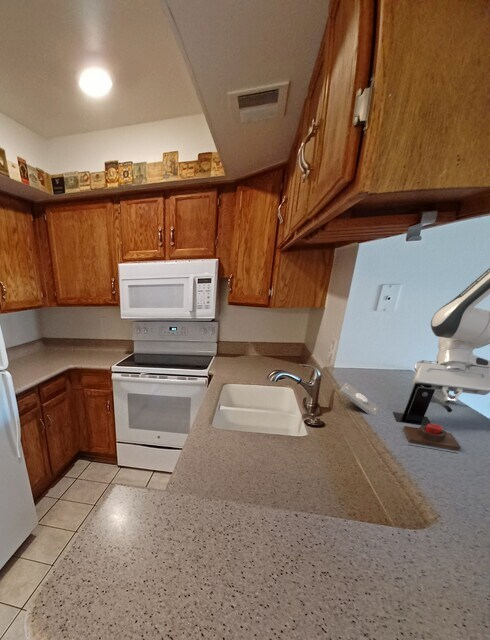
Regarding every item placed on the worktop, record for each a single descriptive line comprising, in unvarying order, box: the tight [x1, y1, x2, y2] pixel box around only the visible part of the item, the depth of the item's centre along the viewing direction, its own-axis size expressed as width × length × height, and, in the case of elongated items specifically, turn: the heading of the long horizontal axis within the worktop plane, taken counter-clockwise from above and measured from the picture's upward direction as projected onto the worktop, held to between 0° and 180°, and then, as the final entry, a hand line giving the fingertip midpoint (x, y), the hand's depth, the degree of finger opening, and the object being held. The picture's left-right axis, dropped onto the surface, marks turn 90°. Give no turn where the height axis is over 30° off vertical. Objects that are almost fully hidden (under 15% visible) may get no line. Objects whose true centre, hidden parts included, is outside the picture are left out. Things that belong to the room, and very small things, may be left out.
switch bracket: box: [392, 383, 435, 426], centre depth 107 cm, size 10×8×13 cm
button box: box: [402, 425, 461, 454], centre depth 97 cm, size 12×9×4 cm
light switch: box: [339, 382, 381, 417], centre depth 118 cm, size 8×6×14 cm
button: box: [425, 423, 443, 434], centre depth 96 cm, size 4×4×2 cm
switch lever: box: [415, 385, 453, 413], centre depth 104 cm, size 11×5×2 cm, turn 68°
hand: (449, 402), depth 103 cm, fingers closed
